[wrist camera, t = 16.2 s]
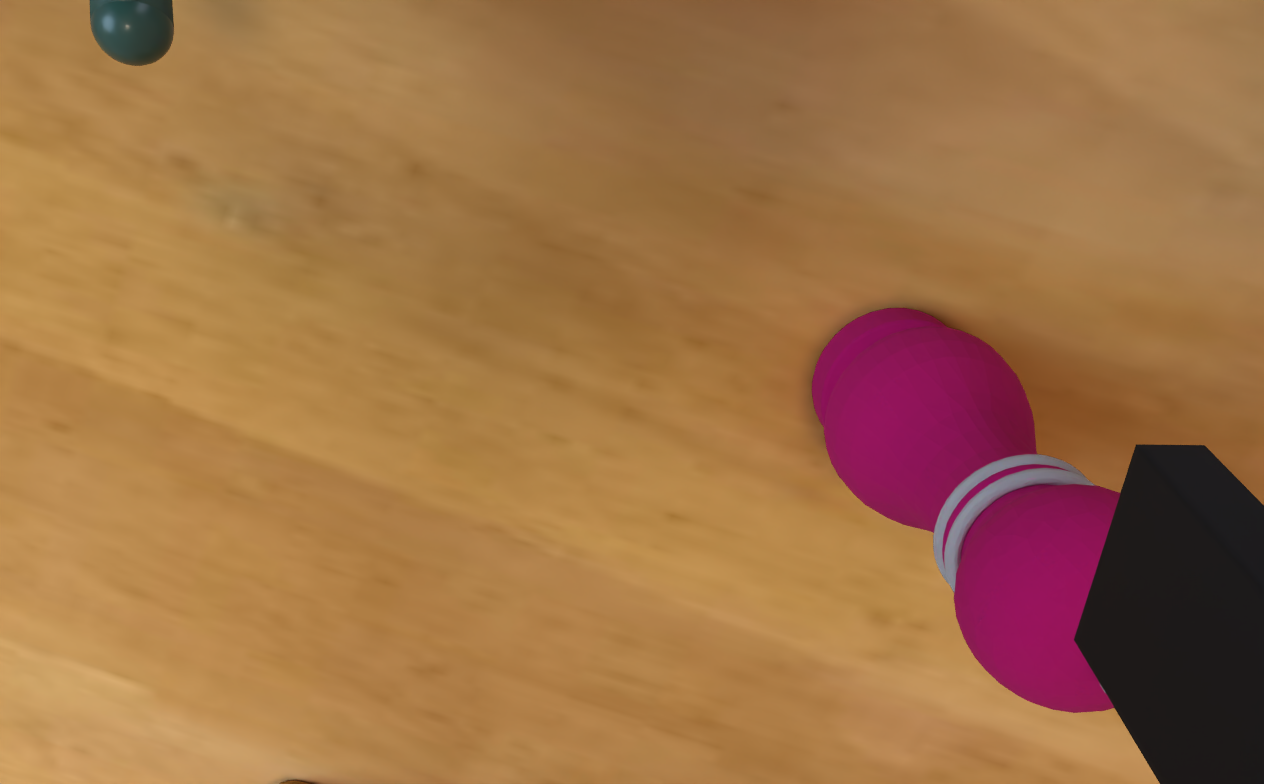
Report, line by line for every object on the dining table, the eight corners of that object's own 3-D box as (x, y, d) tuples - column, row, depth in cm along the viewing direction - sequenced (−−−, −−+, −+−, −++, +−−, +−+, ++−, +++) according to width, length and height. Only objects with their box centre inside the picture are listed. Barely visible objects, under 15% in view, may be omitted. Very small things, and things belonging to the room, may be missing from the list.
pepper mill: (887, 493, 45) (1139, 864, 26) (761, 396, 43) (938, 726, 24) (1011, 365, 43) (1372, 666, 25) (886, 257, 41) (1179, 498, 22)
